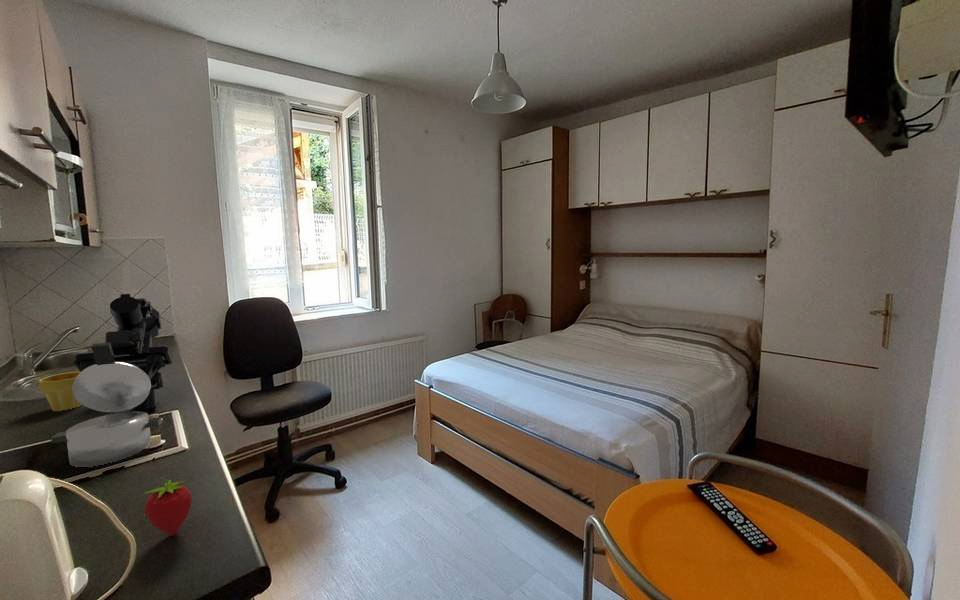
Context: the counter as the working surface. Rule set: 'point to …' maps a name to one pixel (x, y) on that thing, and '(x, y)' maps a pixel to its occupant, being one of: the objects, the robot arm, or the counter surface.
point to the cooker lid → (110, 383)
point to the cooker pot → (107, 438)
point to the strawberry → (168, 507)
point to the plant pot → (60, 391)
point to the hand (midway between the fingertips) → (120, 387)
